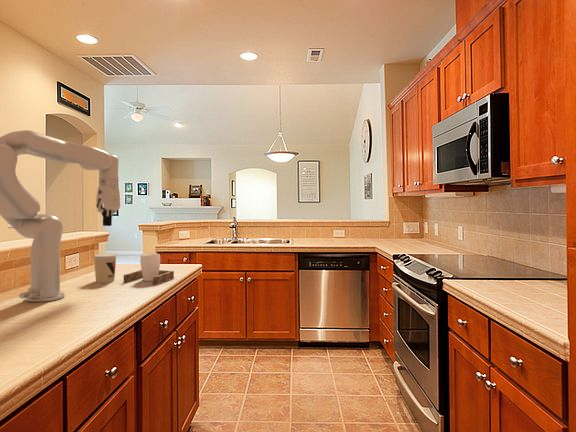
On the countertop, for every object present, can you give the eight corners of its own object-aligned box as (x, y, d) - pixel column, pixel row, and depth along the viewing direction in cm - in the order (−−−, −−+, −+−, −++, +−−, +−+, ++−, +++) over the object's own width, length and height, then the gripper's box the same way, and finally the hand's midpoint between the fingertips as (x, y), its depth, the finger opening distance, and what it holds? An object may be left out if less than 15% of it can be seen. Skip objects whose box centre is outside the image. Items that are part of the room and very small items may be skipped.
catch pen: (155, 284, 177) (155, 277, 177) (123, 282, 181) (123, 274, 180) (173, 278, 193) (173, 271, 193) (143, 276, 196) (143, 269, 196)
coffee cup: (110, 283, 178) (110, 256, 178) (89, 282, 179) (89, 256, 178) (119, 279, 188) (119, 254, 187) (100, 278, 188) (100, 253, 187)
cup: (139, 278, 190) (139, 253, 189) (158, 277, 194) (158, 253, 194) (141, 282, 182) (141, 256, 181) (161, 280, 186) (162, 255, 186)
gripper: (103, 182, 164) (102, 226, 164) (127, 185, 179) (125, 225, 179) (88, 182, 166) (87, 225, 166) (112, 184, 180) (111, 225, 181)
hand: (107, 225), depth 172 cm, fingers closed
